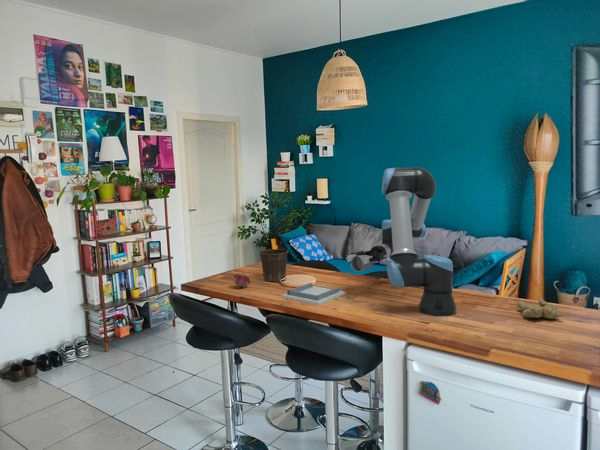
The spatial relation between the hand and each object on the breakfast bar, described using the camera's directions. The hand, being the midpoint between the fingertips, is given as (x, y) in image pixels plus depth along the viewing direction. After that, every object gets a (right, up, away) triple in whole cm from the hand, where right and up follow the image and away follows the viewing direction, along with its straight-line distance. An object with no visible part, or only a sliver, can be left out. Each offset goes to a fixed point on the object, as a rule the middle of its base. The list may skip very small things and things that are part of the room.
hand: (356, 259), depth 211 cm
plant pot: (-41, -14, +40) cm, 59 cm away
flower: (-57, -17, +25) cm, 64 cm away
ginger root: (+69, -21, -31) cm, 79 cm away
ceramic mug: (+3, -6, +5) cm, 8 cm away
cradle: (-20, -18, +7) cm, 27 cm away
